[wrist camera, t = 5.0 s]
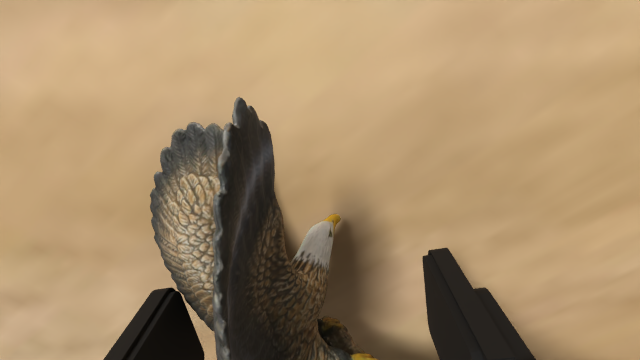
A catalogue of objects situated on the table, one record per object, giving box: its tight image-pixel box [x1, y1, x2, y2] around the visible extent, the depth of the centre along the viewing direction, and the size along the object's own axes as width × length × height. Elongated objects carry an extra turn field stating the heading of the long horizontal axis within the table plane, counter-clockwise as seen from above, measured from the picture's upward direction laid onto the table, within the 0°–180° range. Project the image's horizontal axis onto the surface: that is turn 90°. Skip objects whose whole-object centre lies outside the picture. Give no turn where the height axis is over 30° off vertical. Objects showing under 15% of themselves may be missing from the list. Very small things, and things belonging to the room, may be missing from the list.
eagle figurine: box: [150, 97, 378, 360], centre depth 9 cm, size 8×7×9 cm
